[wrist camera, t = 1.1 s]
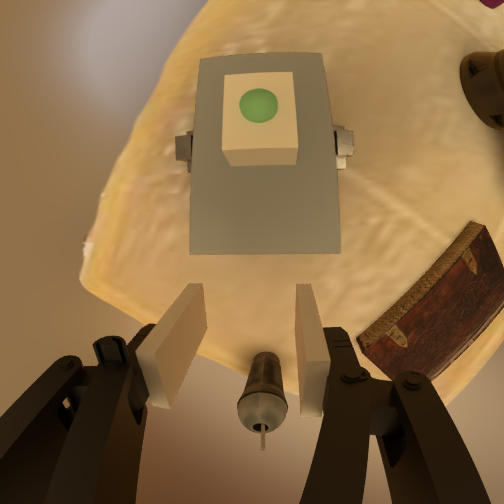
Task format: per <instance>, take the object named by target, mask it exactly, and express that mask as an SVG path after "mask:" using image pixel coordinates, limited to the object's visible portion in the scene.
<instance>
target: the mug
mask: <svg viewBox="0 0 504 504" xmlns="http://www.w3.org/2000/svg"><path fill="white" fill-rule="evenodd" d="M480 1H481V2H482V3H484V4H485V5H486V6H488V7H490V8H496V7H498V6H499V5H501V4H502V3H504V0H480Z"/></svg>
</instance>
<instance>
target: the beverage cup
mask: <svg viewBox="0 0 504 504" xmlns="http://www.w3.org/2000/svg"><path fill="white" fill-rule="evenodd" d="M237 406H238V407H237V409H238V416H239V418H240V421H241V422H242V424H243V425H244V426H245V427H246V428H247V429H248V430H250V431H252V432H255V433H261V450H262V451H264V450H265V433H268V432H271V431H273V430H275V429H276V428H278V427H279V426H280V425H281V424H282V422H283V421H284V419H285V417H286V413H287V410H288V405H287V402H286V399H285V396H284V390H283V382H282V374H281V366H280V363H279V358H278V357H277V356H276V355H275V354H273V353H270V352H262V353H260V354H258V355H257V356H256V357H255V359H254V362H253V364H252V366H251V370H250V373H249V376H248V380H247V383H246V386H245V389H244V392H243V394H242V396H241V398H240V399H239V401H238V403H237Z"/></svg>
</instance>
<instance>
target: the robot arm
mask: <svg viewBox="0 0 504 504" xmlns="http://www.w3.org/2000/svg"><path fill="white" fill-rule="evenodd" d="M460 77H461V83H462V86H463V90H464V92H465V95H466V97H467V99H468V101H469V103H470V105H471V107H472V108H473V110H474V111H475V113H476V114H477V115H478V116H479V118H480V119H481V120H482V121H483V122H484V123H486V124H487V125H488V126H490V127H492V128H494V129H498V130H501V129H504V49H503V50H501V51H499V52H474V53H472V54H470V55H468V56H466V57H465V58H464V59H463V61H462V63H461V67H460ZM206 330H207V320H206V312H205V302H204V293H203V284H193V283H189V284H188V285H187V287H186V288H185V289H184V290H183V292H182V293H181V294H180V295H179V297H178V298H177V299H176V300H175V302H174V303H173V304H172V305H171V307H170V308H169V309H168V310H167V312H166V313H165V314H164V315H163V317H162V318H161V319H160V320H159V322H158V323H157V324H148V325H146V326H145V327H143V328H141V329H140V330H139V332H138V333H137V334H136V336H134V338H133V339H132V341H130V342H129V343H128V345H127V346H126V342H125V340H124V339H123V338H121V337H119V336H106V337H103V338H100V339H98V340H97V341H95V342H94V344H93V348H94V351H95V354H96V356H97V359H98V362H99V364H98V366H83V364H82V362H81V360H80V358H79V357H77V356H72V355H68V356H64V357H62V358H60V359H58V360H57V361H55V362H54V363H53V364H52V365H51V366H50V367H49V368H48V369H47V370H46V371H45V372H44V373H43V374H42V375H41V376H40V377H39V378H38V379H37V380H36V381H35V382H34V383H33V384H32V385H31V386H30V387H29V388H28V389H27V390H26V391H25V392H24V393H23V394H22V395H21V396H20V397H19V398H18V399H17V400H16V401H15V402H14V404H13V405H12V406H11V407H10V408H9V409H8V410H7V411H6V412H5V413H4V414H3V415H2V416H1V417H0V504H135V502H136V492H137V482H138V474H139V466H140V465H139V464H140V458H141V451H142V444H143V437H144V430H145V425H146V418H147V413H148V412H147V407H146V404H145V402H146V401H147V399H148V397H150V400H151V403H152V406H156V407H161V408H167V409H170V408H171V406H172V404H173V402H174V399H175V397H176V395H177V393H178V391H179V388H180V386H181V384H182V382H183V380H184V378H185V375H186V373H187V371H188V369H189V367H190V365H191V362H192V360H193V358H194V356H195V354H196V352H197V349H198V347H199V345H200V343H201V341H202V339H203V336H204V334H205V332H206ZM295 339H296V351H297V365H298V380H299V396H300V414H301V418H311V417H321V416H322V411H323V413H324V416H323V420H322V425H321V429H320V433H319V437H318V441H317V445H316V449H315V453H314V457H313V461H312V464H311V468H310V471H309V475H308V478H307V481H306V484H305V488H304V491H303V494H302V497H301V500H300V503H299V504H362V500H363V493H364V486H365V479H366V470H367V461H368V449H369V437H370V435H376V438H377V442H378V446H379V449H380V453H381V457H382V461H383V465H384V469H385V473H386V477H387V481H388V486H389V490H390V495H391V500H392V504H491V502H490V500H489V497H488V495H487V493H486V489H485V487H484V485H483V482H482V480H481V478H480V475H479V473H478V471H477V469H476V467H475V464H474V462H473V460H472V458H471V456H470V454H469V452H468V450H467V447H466V445H465V443H464V442H463V439H462V438H461V435H460V434H459V432H458V430H457V428H456V426H455V424H454V422H453V420H452V418H451V417H450V415H449V413H448V411H447V409H446V407H445V406H444V404H443V402H442V400H441V399H440V397H439V395H438V393H437V392H436V390H435V388H434V386H433V385H432V383H431V381H430V380H429V379H428V377H427V376H426V375H424V374H422V373H420V372H417V371H404V372H400V373H399V374H398V375H396V377H395V379H394V381H386V380H379V379H375V378H372V377H371V375H370V373H369V372H368V371H367V370H366V369H365V368H363V367H361V366H360V364H359V361H358V359H357V356H356V353H355V351H354V348H353V347H352V343H351V341H350V338H349V335H348V333H347V332H346V331H345V330H344V329H342V328H341V327H326V328H322V324H321V320H320V316H319V312H318V309H317V305H316V301H315V297H314V294H313V290H312V287H311V284H296V309H295ZM66 398H67V400H68V402H69V404H70V406H69V407H68V408H65V406H64V405H63V403H62V402H63V401H64V400H65V399H66Z"/></svg>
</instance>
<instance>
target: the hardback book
mask: <svg viewBox="0 0 504 504" xmlns="http://www.w3.org/2000/svg"><path fill="white" fill-rule="evenodd" d="M503 308H504V267H503V264H502V262H501V259H500V257H499V254H498V252H497V250H496V247H495V245H494V243H493V241H492V238H491V236H490V234H489V232H488V230H487V228H486V226H485V225H482V224H479V223H476V222H472V221H470V222H469V223H468V224H467V226H466V227H465V228H464V229H463V231H462V232H461V233H460V234H459V236H458V237H457V238H456V239H455V240H454V242H453V243H452V244H451V245H450V246H449V247H448V249H447V250H446V251H445V252H444V253H443V254H442V255H441V257H440V258H439V259H438V260H437V261H436V262H435V263H434V264H433V265H432V267H431V268H430V269H429V270H428V271H427V272H426V273H425V274H424V275H423V276H422V277H421V278H420V279H419V280H418V281H417V282H416V283H415V284H414V285H413V286H412V287H411V288H410V289H409V290H408V291H407V292H406V293H405V294H404V295H403V296H402V297H401V298H400V299H399V300H398V301H397V302H396V303H395V304H394V305H393V306H392V307H391V308H390V309H389V310H387V311H386V312H385V313H384V314H383V315H382V316H381V317H380V318H379V319H378V320H376V321H375V322H374V323H373V324H372V325H371V326H370V327H368V328H367V329H366V330H365V331H364V332H363V333H361V334H360V335H359V336H358V337H357V338H356V340H357V342H358V344H359V347H360V349H361V352H362V353H363V354H364V355H365V356H366V357H367V358H368V359H369V360H370V361H371V362H372V363H374V364H375V365H376V366H377V367H378V368H379V369H380V370H381V371H382V372H383V373H384V374H385V375H387V376H388V377H389V378H390V379H391V380H392V381H394V379H395V377H396V375H398V374H399V373H400V372H404V371H417V372H420V373H422V374H424V375H426V376H427V377H428V379H429V380H430V381H433V380H434V379H435V378H436V377H437V376H438V375H440V374H441V373H442V372H443V371H444V370H445V369H446V368H447V367H448V366H450V365H451V364H452V363H453V362H454V361H455V360H456V359H457V358H458V357H459V356H460V355H461V354H462V353H463V352H464V351H465V350H466V349H467V348H468V347H469V346H470V345H471V344H472V343H473V342H474V341H475V340H476V339H477V338H478V337H479V336H480V334H481V333H482V332H483V331H484V330H485V329H486V328H487V327H488V326H489V324H490V323H491V322H492V321H493V320H494V319H495V317H496V316H497V315H498V314H499V313H500V311H501V310H502V309H503Z"/></svg>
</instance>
